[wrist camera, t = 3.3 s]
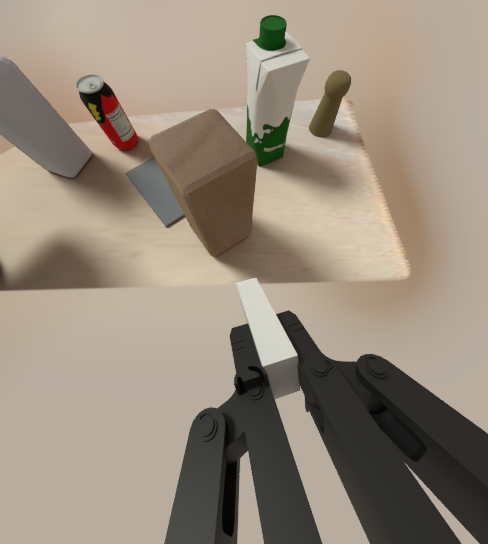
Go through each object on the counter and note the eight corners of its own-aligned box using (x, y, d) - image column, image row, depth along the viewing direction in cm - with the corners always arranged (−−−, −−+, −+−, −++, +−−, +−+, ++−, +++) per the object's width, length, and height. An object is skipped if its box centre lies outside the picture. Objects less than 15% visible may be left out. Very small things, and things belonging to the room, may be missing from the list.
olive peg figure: (329, 139, 48) (354, 86, 37) (307, 134, 48) (325, 80, 38) (333, 123, 49) (357, 68, 39) (311, 118, 50) (329, 62, 39)
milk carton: (271, 134, 48) (290, 7, 29) (288, 158, 46) (321, 39, 27) (241, 145, 47) (240, 21, 28) (257, 170, 45) (269, 55, 25)
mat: (126, 174, 44) (125, 173, 43) (189, 140, 47) (188, 138, 47) (166, 227, 40) (165, 226, 40) (231, 185, 43) (230, 184, 43)
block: (252, 235, 40) (261, 153, 21) (213, 260, 38) (184, 195, 19) (227, 203, 42) (214, 102, 23) (189, 225, 40) (141, 135, 21)
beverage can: (131, 129, 48) (96, 68, 36) (144, 143, 47) (112, 84, 35) (109, 141, 47) (66, 81, 35) (122, 156, 45) (82, 99, 34)
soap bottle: (43, 170, 44) (-199, -17, 20) (65, 143, 46) (-127, -53, 22) (75, 181, 43) (-136, 0, 19) (96, 153, 46) (-69, -39, 21)
